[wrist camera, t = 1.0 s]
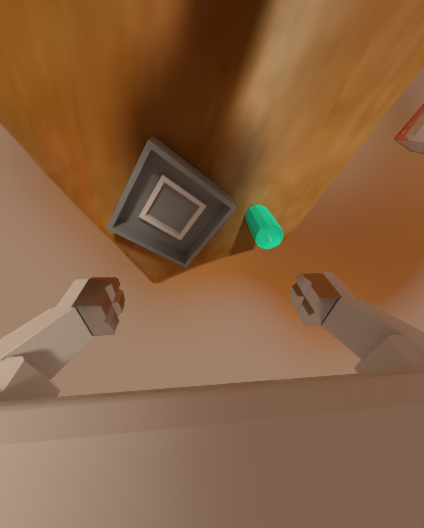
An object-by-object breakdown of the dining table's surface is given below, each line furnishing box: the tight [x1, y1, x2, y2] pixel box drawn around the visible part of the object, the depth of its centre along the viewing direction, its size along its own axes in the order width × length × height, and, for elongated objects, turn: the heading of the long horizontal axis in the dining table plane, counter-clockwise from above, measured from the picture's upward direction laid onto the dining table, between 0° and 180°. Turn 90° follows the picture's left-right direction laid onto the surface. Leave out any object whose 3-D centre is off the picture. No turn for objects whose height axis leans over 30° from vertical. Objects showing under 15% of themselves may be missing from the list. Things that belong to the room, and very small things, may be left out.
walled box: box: [106, 136, 238, 268], centre depth 42 cm, size 20×20×6 cm
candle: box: [245, 205, 284, 249], centre depth 43 cm, size 6×6×12 cm
